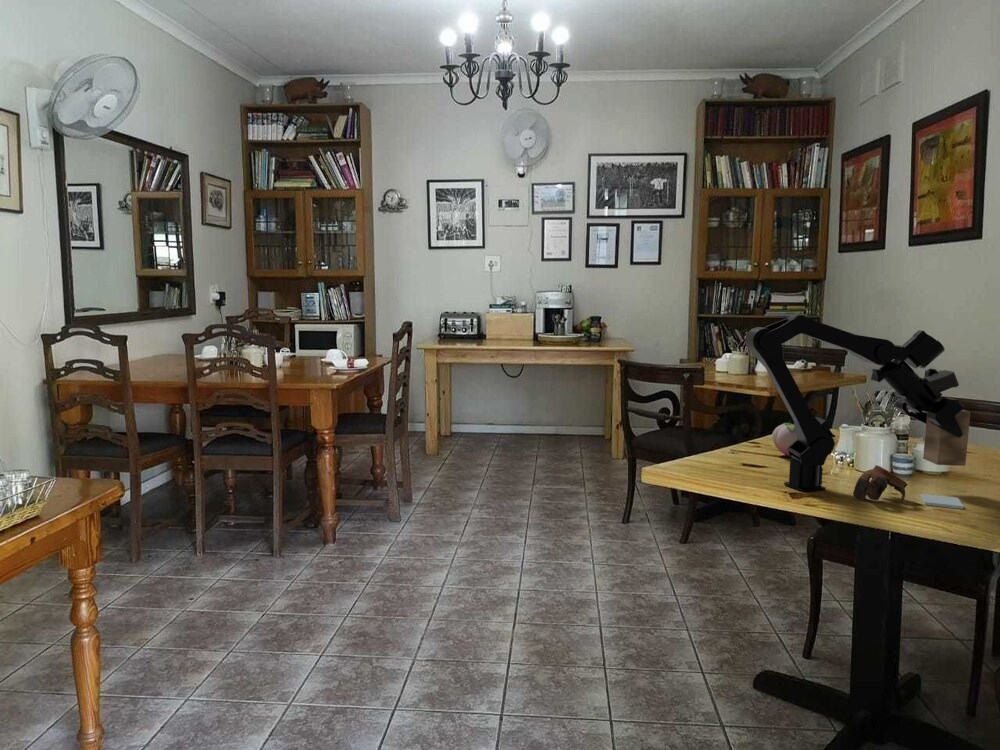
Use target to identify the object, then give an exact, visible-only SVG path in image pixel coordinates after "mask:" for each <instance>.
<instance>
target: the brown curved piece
mask: <svg viewBox="0 0 1000 750" xmlns="http://www.w3.org/2000/svg"><path fill="white" fill-rule="evenodd" d="M870 479H871V480H870ZM888 486H889V487H892V488H894V491H898V492H899V493H900V495H901V497H900V500H899V501H900V503H901V502H902V503H903V502H904V500H905V497H906V487H908V483H907V482H906V481H905V480H903V479H902V478H900V477H899V476H897V475H896V474H894V473H892V472H891V471H889V470H887V469H885V468H884V467H882V466H881V465H877V464H875V465H874V467H873V468H871V469H868V470H865V471H863V473H861V475H860V476H859V478H858V479H857V481H856V484H855V485H854V489H853V493H852V495H853V497H856V498H857V499H859V500H860V501H862V502H865V500H866V497H867V498H868V499H869V500H871V501H872V500H873V501H879V500H880V498H881V497H882V494H883V493H884V492H885V490H886V489H887V488H888Z"/></svg>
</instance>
